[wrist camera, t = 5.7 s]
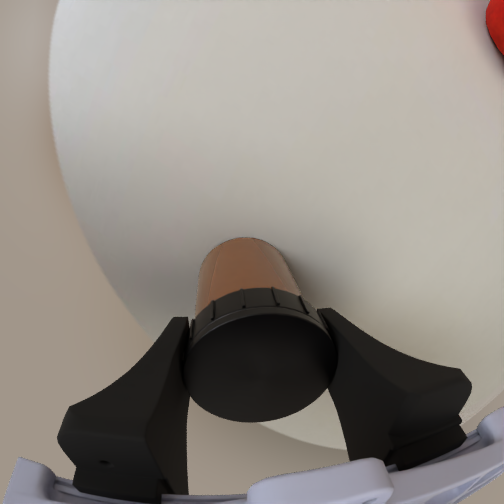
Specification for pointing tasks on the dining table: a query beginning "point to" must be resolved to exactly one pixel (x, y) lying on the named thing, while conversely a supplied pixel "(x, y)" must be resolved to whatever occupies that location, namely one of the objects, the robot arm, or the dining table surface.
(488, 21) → the apple
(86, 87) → the dining table surface
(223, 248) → the jar
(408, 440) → the robot arm
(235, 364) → the jar lid
